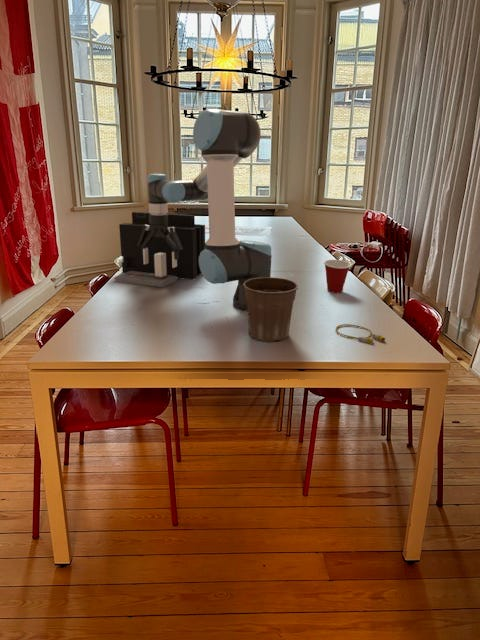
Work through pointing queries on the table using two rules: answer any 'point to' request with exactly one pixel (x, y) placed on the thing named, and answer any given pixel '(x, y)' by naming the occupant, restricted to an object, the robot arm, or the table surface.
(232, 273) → the robot arm
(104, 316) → the table surface
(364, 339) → the looped cable
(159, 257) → the fader
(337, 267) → the plastic cup
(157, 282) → the fader panel
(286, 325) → the plant pot
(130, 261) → the game console
